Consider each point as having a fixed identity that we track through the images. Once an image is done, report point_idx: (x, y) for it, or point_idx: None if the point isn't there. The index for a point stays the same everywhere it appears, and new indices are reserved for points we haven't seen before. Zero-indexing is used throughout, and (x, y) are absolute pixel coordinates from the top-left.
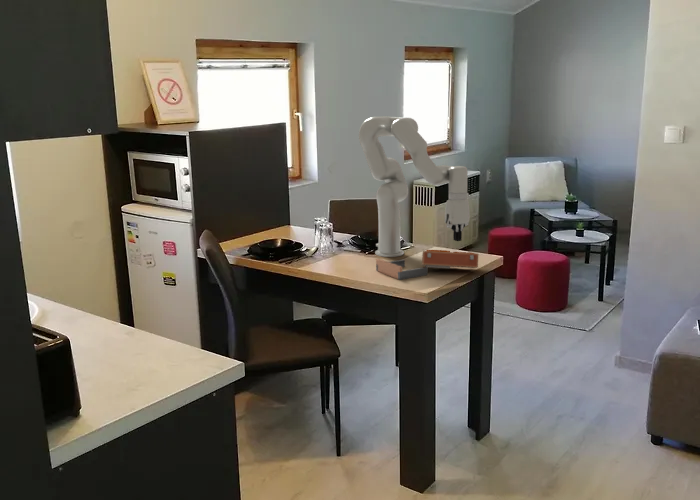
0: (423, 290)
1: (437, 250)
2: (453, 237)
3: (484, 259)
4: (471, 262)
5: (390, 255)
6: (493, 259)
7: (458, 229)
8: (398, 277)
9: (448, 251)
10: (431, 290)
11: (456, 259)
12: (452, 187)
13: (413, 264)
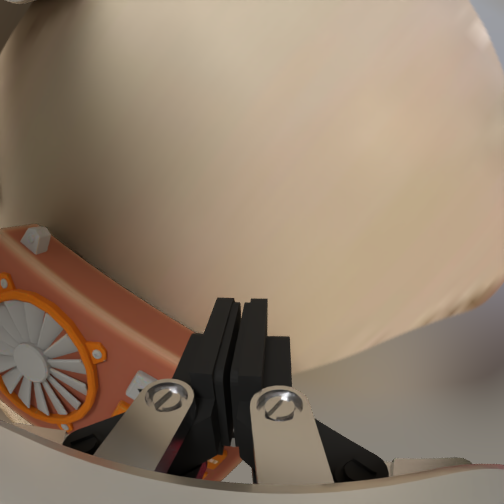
0: (14, 413)
1: (13, 402)
2: (190, 336)
3: (458, 255)
4: None
5: (13, 2)
6: (482, 281)
7: (243, 444)
8: None
9: (66, 430)
10: (28, 424)
11: None
12: None
13: (41, 134)
